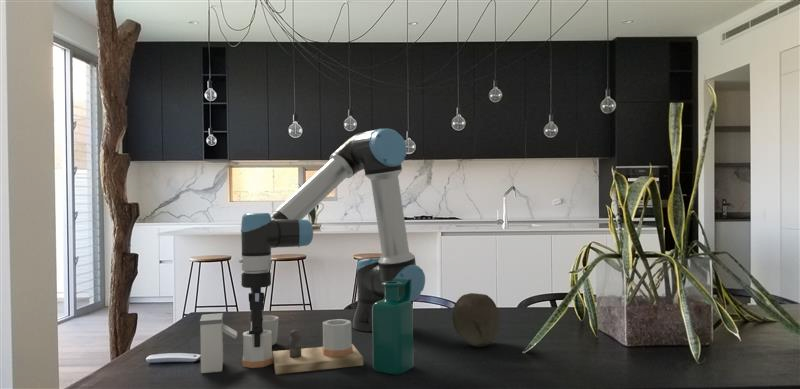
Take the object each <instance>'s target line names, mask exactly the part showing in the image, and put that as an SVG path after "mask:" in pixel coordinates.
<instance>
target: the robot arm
mask: <svg viewBox="0 0 800 389" xmlns="http://www.w3.org/2000/svg"><path fill="white" fill-rule="evenodd" d="M407 149H408V148H407V144H406V141H405V139H404V137H403V136H402V135H401V134H400V133H399V132H398V131H397V130H395V129H392V128H377V129H374V130H369V131H368V130H367V131H363V132H358V133H356V134H354V135H353V136H351V137H349V138H348V139H347V140H346V141H345V142H343V144H341V145H340V146H339V147H338V148H337V149H336V150H335V151H334V152H332V153H331V155H330V156H329V161H327V162H326V164H324V165H323V166H322V167H321V168H320V169H319V170H318V171H316V173H315V174H313V175H312V176H311V177H310V178H309V179H308V180H306V182H305V183H303V185H301V187H299V188H298V189H297V190H296V191H295V192H294V193H293V194H292V195H290V197H288V198H287V199H286V200H285V201H284V202H283V203H282V204H281V205H280V206H279V207H278V208H277V209H275V210H274V211H273V212H271V213H269V212H246V213H244V214H243V215H242V218H241V224H240V225H241V227H240V232H241V233H240V234H241V238H240V239H241V258H240V259H239V260H238V262H239V263H241V270H242V271H243V272H242V273H241V286H242V288H246V289H250V292H249V293H248V302H249V310H250V330H252V331H250V330H248V331H249V334H251V359H252V360H260V359H263V333H262V332H263V329H262V321H263V317H262V316H263V310H264V302H265V292H262V288H267V287H270V286H271V285H272V273H271V272H270V271H271V269H272V249H276V248H293V247H297V248H301V247H306V246H309V245H310V244H311V243H312V242H313V238H314V228H313V225H312V223H311V221H310V220H308V219H304V218H305V217H307V216H308V215H309V214H310V213H311V212H312V211H313V210H314V209H315V208H316V207H317V206H318V205H320V203H321V202H323V200H324V199H325V198H326V197H328V196H329V195H330V194H331V193H332V192H333V191H334V190H335V189H336V188H337V187H338V186H339V185H341V183H342V182H343V181H344V180H345V179H351V178H352V177H353V176H355V174H356V173H358V172H360V171H364V176H365V177H366V178H368V179H369V180H370V183H371V190H372V196H373V203H374V209H375V210H374V211H375V216H376V217H375V218H376V223H377V229H378V230H377V232H378V236H379V237H378V238H379V243H380V250H381V256H380V257H374V258H373V257H372V258H365V259H359V260H358V261H357V263H356V264H357V265H356V275H357V277H356V280H357V288H356V289H357V305H356V309H355V312H354V316H353V320H352V328H353V329H354V330H357V331H361V332H372V306H373V304H374V303H375V302H377V301H380V300H382V299H384V297H385V286H382V285H381V284H382V283H383V282H387V281H392V280H393V278H400V279H411V296H410V300H409V301H410V302H411V303H412V302H413V301H415V300H416V299H418V298H419V297H420V295H421V293H422V292H423V291H424V289H425V284H426V275H425V272H424V271H423V268H421V267H420V266H419V265H417V264H416V257H415V256H416V255H415V254H413V253H412V252H410V248H409V242H408V235H407V228H406V222H405V221H406V220H405V215H404V209H403V208H404V207H403V201H402V192H401V187H400V181H399V180H400V179H399V175H401V173H402V171H403V168H402V164H403V162H404V161H405V158H406V157H407V153H408V152H407Z"/></svg>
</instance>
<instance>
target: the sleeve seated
mask: <svg viewBox="0 0 800 389" xmlns="http://www.w3.org/2000/svg"><path fill="white" fill-rule="evenodd" d="M352 338H353V337H352V321H351V320H349V319H344V318H343V319H342V318H337V319H328V320H324V321H323V322H322V345H321V347H322V352H323V354H324V355H325V356H332V357H337V356H346V355H348V354H351V353H353V348H352V344H353V343H352Z"/></svg>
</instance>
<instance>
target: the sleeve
mask: <svg viewBox="0 0 800 389" xmlns="http://www.w3.org/2000/svg"><path fill="white" fill-rule="evenodd" d="M249 331H252V330H251V329H250V330H247V331H244V332H242V349H243V350H242V351H243V352H242V353H243V354H242V367H243V368H249V369H255V368H256V369H257V368H265V367H267V366H270V365H272V364H273V365H274V363H273V348H272V346H273V345H272V333H271V330H264V329H263V332H262V333H263V359H260V360H252V359H251V334H249Z"/></svg>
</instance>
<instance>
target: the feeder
mask: <svg viewBox="0 0 800 389" xmlns="http://www.w3.org/2000/svg"><path fill="white" fill-rule="evenodd" d="M223 317H224V313H223V312H221V313H219V312H218V313H208V314H202V315H201V316H200V320H199V326H200V328H199V329H200V330H199V331H200V333H199V334H200V374H209V373H219V372H222V371H223V367H224V366H223V365H224V336H223V335H224V334H226V335H228V336H229V337H231V338H233V339H234V340H236V339H237V337H238V331H237V330H235V329H233V328H231V327H229V326H228V325H227V324H225V323H224V321H223V319H224V318H223ZM223 333H224V334H223Z"/></svg>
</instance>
